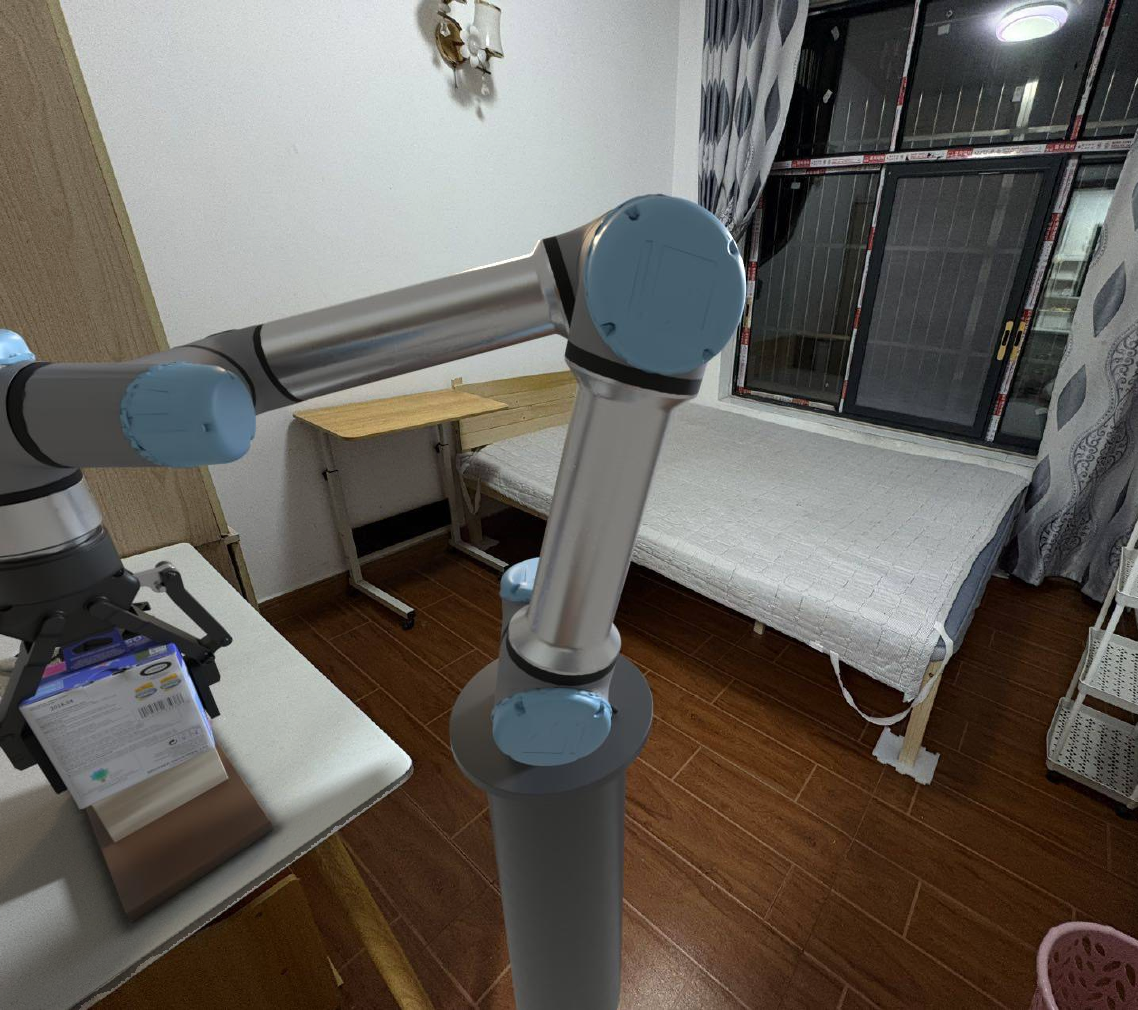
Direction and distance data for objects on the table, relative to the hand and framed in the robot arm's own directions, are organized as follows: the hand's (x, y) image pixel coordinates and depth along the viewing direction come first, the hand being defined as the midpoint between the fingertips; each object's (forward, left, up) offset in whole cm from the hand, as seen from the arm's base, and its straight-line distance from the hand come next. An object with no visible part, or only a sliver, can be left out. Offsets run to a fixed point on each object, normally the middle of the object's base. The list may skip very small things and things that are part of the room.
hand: (141, 743), depth 52 cm
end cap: (+32, -32, -16) cm, 48 cm away
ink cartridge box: (0, 0, -2) cm, 2 cm away
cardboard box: (+6, -5, -16) cm, 18 cm away
